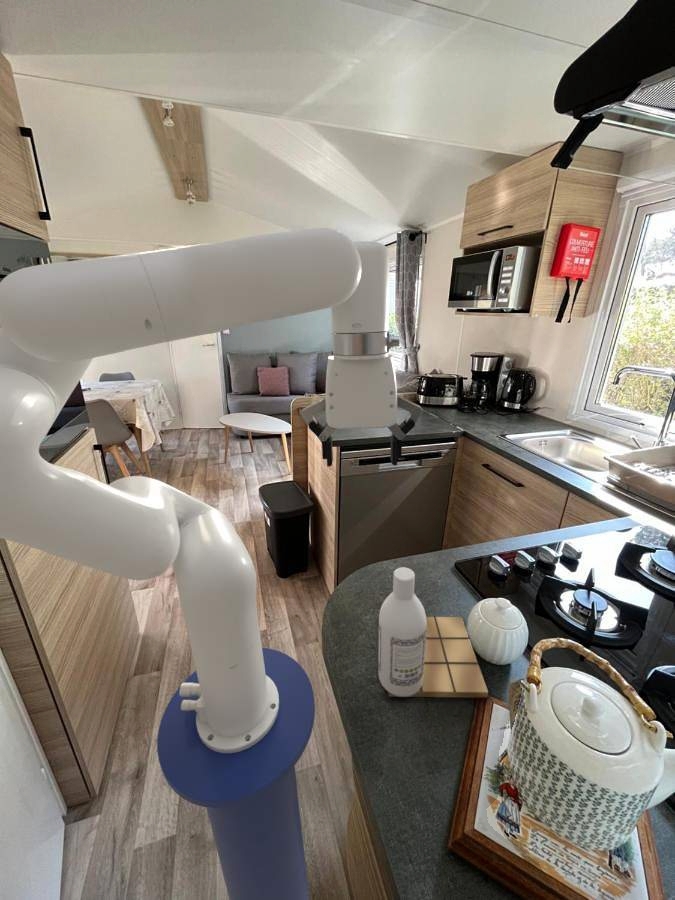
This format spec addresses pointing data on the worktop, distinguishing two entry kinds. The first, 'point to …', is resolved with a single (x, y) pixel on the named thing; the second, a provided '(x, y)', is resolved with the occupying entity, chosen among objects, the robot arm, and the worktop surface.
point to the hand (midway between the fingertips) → (361, 462)
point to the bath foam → (402, 637)
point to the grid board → (449, 662)
